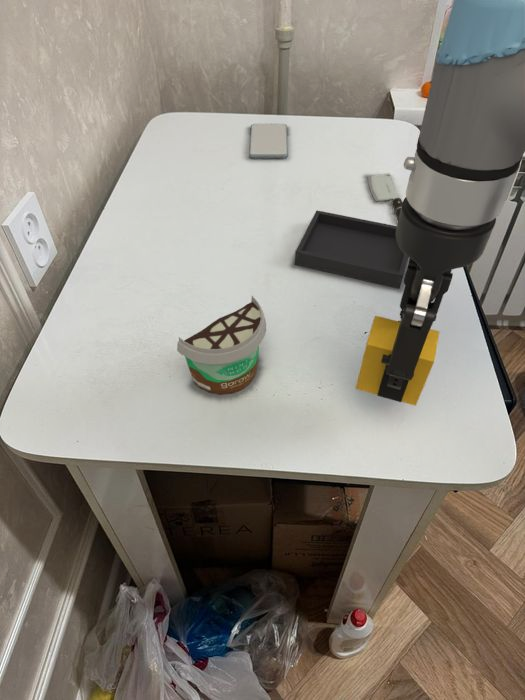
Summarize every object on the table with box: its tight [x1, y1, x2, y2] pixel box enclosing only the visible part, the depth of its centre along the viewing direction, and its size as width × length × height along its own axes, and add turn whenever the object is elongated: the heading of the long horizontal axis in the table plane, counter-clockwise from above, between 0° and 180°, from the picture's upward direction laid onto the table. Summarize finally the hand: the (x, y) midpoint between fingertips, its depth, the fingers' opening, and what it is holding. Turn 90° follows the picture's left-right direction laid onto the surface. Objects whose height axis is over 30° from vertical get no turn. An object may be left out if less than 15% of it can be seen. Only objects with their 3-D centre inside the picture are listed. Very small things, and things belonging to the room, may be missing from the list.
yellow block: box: [355, 315, 440, 407], centre depth 56 cm, size 7×4×8 cm, turn 70°
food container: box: [176, 295, 267, 396], centre depth 64 cm, size 12×6×10 cm, turn 129°
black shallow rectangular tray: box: [294, 210, 409, 290], centre depth 84 cm, size 18×13×3 cm
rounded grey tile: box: [248, 123, 289, 159], centre depth 111 cm, size 8×1×15 cm
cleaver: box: [367, 172, 403, 219], centre depth 96 cm, size 17×1×5 cm
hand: (393, 379), depth 58 cm, fingers closed on yellow block, 4 cm apart
